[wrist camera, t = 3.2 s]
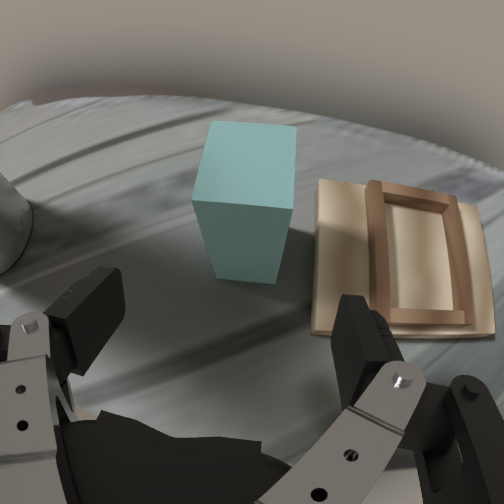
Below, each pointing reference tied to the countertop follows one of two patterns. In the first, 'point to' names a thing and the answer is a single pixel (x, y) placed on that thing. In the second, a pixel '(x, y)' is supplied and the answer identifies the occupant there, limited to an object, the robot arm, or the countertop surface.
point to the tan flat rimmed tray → (401, 260)
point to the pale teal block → (246, 198)
